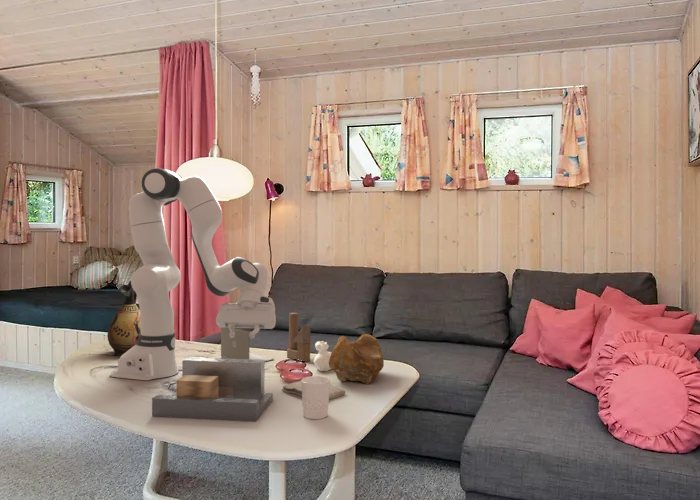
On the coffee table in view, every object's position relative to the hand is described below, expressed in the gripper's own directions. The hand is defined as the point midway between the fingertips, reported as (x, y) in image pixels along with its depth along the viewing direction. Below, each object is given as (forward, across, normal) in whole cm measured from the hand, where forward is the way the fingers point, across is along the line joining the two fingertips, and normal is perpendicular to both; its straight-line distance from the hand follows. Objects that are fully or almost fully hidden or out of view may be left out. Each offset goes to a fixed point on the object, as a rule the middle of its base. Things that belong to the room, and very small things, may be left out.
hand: (241, 337), depth 182 cm
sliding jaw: (+24, 0, -2) cm, 24 cm away
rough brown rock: (+4, +40, +18) cm, 44 cm away
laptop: (-12, -8, +34) cm, 37 cm away
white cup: (+31, +30, -8) cm, 43 cm away
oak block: (+30, -4, -8) cm, 32 cm away
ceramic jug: (-14, -58, +36) cm, 69 cm away
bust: (-5, +24, +27) cm, 37 cm away
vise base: (+29, 0, -7) cm, 30 cm away
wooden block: (-14, +12, +36) cm, 40 cm away
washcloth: (+17, +26, +6) cm, 31 cm away
